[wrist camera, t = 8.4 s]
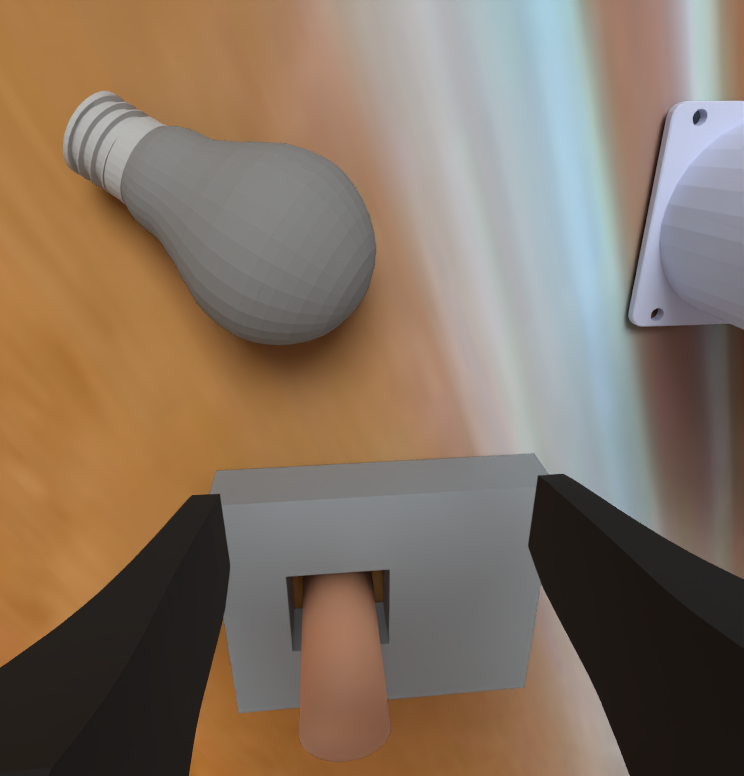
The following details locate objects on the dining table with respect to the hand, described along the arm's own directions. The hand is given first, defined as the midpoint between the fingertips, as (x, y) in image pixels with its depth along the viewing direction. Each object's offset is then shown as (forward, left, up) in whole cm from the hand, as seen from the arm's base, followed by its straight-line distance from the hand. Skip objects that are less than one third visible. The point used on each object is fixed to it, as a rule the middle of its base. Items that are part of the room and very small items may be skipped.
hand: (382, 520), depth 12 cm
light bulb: (+8, -8, -9) cm, 15 cm away
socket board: (-1, +11, -10) cm, 15 cm away
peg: (+1, +11, -10) cm, 15 cm away
